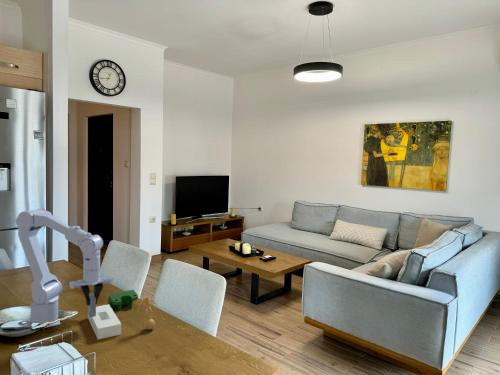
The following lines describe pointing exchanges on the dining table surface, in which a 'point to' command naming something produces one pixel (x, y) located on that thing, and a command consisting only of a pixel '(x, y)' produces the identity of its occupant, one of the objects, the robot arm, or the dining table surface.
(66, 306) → the dining table surface
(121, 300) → the clamp
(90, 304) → the bracket
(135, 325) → the dining table surface
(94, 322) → the white slotted block
